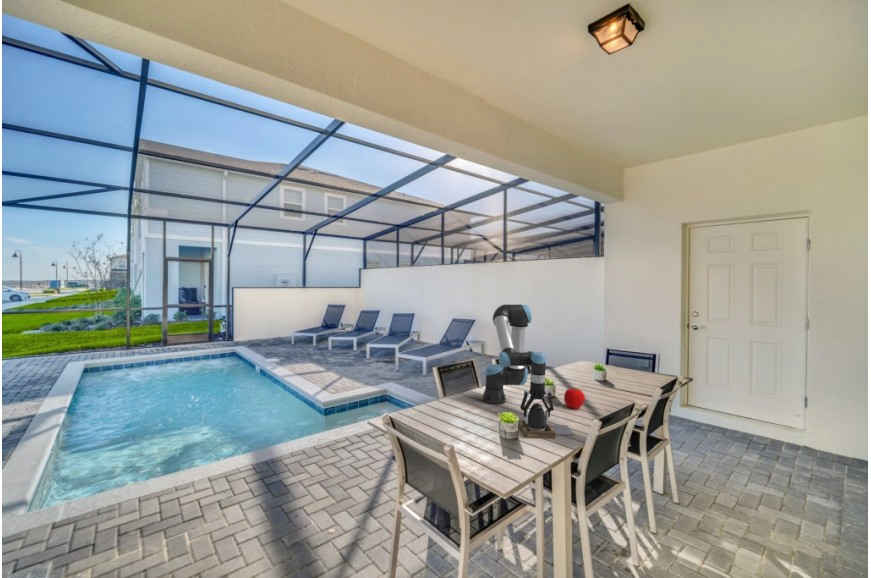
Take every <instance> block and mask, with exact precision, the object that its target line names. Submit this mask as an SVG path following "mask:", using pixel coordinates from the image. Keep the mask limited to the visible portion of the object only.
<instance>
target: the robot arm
mask: <svg viewBox="0 0 871 578" xmlns="http://www.w3.org/2000/svg"><path fill="white" fill-rule="evenodd" d="M532 320H533V319H532V310H531V308H530V306H529V305H527V304H521V303H520V304H505V303H504V304H502V305H500V306H498V307H497V308H496V309H495V310H494V312H493V314H492V322H493V326H495V329H496V333H497V338H498V343H499V345H500V346H499V347H500V351H501V352H499V355H498V359H499V360H498V362H499V364H498V363H497V364H496V363H495V364H489V365H488V366H487V367H486V368H485V389H484V392H483V394H482V401H483V402H484V403H487V404H490V405H491V404H492V405H502V404H505V403H506V402H507V401H506V398H507V397H506V393H505V391H504V386H523V385H525V384H526V383H527V380H528V375H529V374H528V368H527V367H530V377H529V378H530V382H529V383H530V385H529V390H524V391H523V398H522V401H521V403H520V406H519V407H520V411H523V417H524V418H525V419H524V420H525V422H526V424H528V413H529V411H528V410H529V408H530V407H531V406H532V405H531V404H532V403H533V401H535V400H540V401H542V403H543V405H544V407H545V409H546V410H544V413H545V417H546V424H548V423H549V418H550V417H551V412H552V411H554V408H555V407H554V406H553V405H554V404H553V400H552V396H551V395H552V393H551V392H550V391H549V390H548V391H546V367H547V366H546V362H547V358H546V357H547V356H546V353H544V352H542V351H533V350H529V351H528V350H527V351H526V352H525V338H526V337H525V335H526V328H528V327H529V324H530V323H532ZM510 327H511V330H510ZM529 395H530V396H529ZM528 396H529V398H528ZM545 396H546V398H547V401H548V403H547V401H546V399H545V398H544V397H545Z"/></svg>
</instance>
